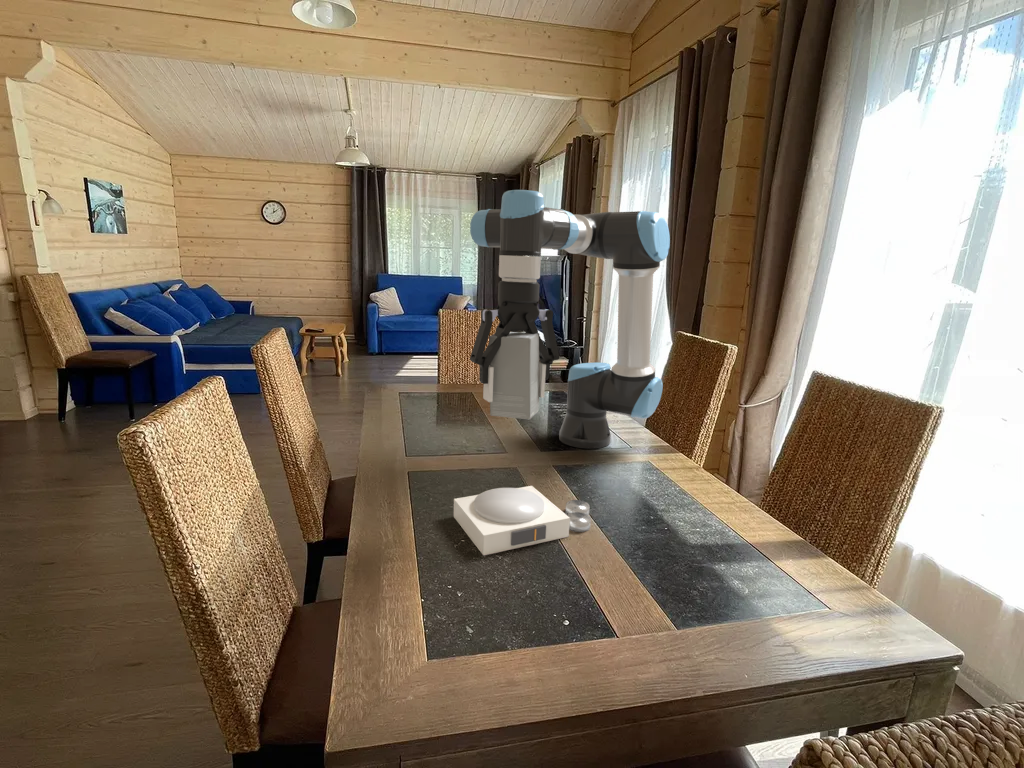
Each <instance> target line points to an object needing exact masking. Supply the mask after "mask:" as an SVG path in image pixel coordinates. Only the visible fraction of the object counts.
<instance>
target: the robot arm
mask: <svg viewBox="0 0 1024 768" xmlns="http://www.w3.org/2000/svg"><path fill="white" fill-rule="evenodd" d="M469 226H470V228H469V233H470V236H471V239H472V241H473V242H474V243H475V244H476V246H479V247H485V248H486V247H487V248H499V255H498V256H499V258H498V259H499V260H498V264H499V265H498V277H499V278H501V280H500V281H499V282H498V284H497V285H498V289H497V306H496V308H495V309H487V308H486V309H485V308H483V309H482V310H481V311H480V319H481V320H480V325H479V328H478V332H477V335H476V337H475V340H474V344H473V348H472V350H471V352H470V353H471V354H470V356H469V360H470V361H471V362H472V363H473V364H476V365H478V366H479V383H481V384H483V389H482V391H483V393H482V395H483V397H482V399H484V400H485V401H486V402H488V403H490V402H493V372H494V367H492V366H490V364H491V362H492V360H493V358H494V357H495V355H496V353H497V351H498V350H499V348H500V346H501V338H502V337H504V336H508V335H509V333H510V332H519V331H520V332H522V333H531V334H536V333H539V329H538V328H537V326H536V323H535V321H536V320H537V319H539V321H540V325H541V331H542V335H543V339H544V342H543V340H542V338H541V336H540V335H539V399H540V398H541V399H542V398H543V399H545V389H546V380H549V377H550V366H551V365H552V364H553V363H554V362H555V361H558V360H559V359H560V353H559V349H558V343H557V338H556V334H555V329H554V324H553V318H554V312H553V310H552V309H546V308H542V309H539V306H538V304H539V300H540V299H539V298H540V283H539V282H538V281H537V280H539V279H540V278H541V260H542V257H541V256H542V250H543V249H544V250H545V249H548V250H557V251H561V250H564V251H565V252H567V253H568V254H572V255H573V254H574V255H580V256H581V255H582V256H587V257H591V258H597V259H607V260H612V269H613V270H614V271H615V272H616V273H618V274H617V275H618V303H617V305H618V306H617V308H618V310H617V348H616V349H617V350H616V351H617V353H616V354H617V355H616V356H617V357H616V359H617V360H616V361H617V362H616V363H615V364H614V365H612V366H611V365H610V363H607V362H584V363H583V362H582V363H577V364H574V365H572V366H571V367H570V368H569V371H568V379H567V398H566V414H565V416H564V418H563V421H562V425H561V426H560V429H559V433H558V435H559V436H558V438H559V441H560V442H561V443H562V444H564V445H567V446H570V447H574V448H580V449H590V450H591V449H593V450H594V449H601V448H604V447H607V446H609V445H610V443H611V438H612V436H611V432H610V428H609V427H610V426H609V423H608V420H607V419H608V418H607V412H609V413H614V414H618V415H623V416H628V417H631V418H640V419H648V418H650V417H651V416H652V415H653V414H654V413H655V411H656V410H657V407H658V406H659V403H660V402H661V397H662V395H663V394H662V393H663V390H664V389H663V387H664V385H663V381H662V378H659V377H658V376H657V377H656V368H655V366H653V365H652V364H651V360H650V359H651V341H652V340H651V337H652V335H651V334H652V314H653V311H652V310H653V292H654V290H653V289H654V274H655V273H656V271H658V270H659V269H660V267H661V265H660V264H661V262H663V261H664V260H665V259H666V258H667V257H668V255H669V250H670V246H671V244H670V243H671V240H670V239H671V237H670V230H669V226H668V222H667V221H666V219H665V217H664V216H663V215H662V214H661V213H660V212H656V211H646V210H640V211H639V210H637V211H613V212H612V211H603V212H595V213H587V214H573V213H572V212H570V211H567V210H564V209H562V208H553V207H547V206H545V201H544V195H543V193H541V192H540V191H538V190H530V189H529V190H527V189H512V190H506V191H504V192H503V194H502V197H501V207H500V209H492V208H487V209H481V210H480V209H479V210H478V211H476V212H475V213H474V214H473V215H472V217H471V220H470V223H469ZM496 318H497V319H498V321H499V323H498V325H497V326H496V327H495V332H494V335H495V336H497V338H496V339H495V340H494V342H493V343H492V344H491V345H490V346H489V343H488V341H489V336H490V333H491V330H492V327H493V322H494V321H495V320H496ZM487 343H488V344H487Z"/></svg>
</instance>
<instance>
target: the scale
mask: <svg viewBox="0 0 1024 768" xmlns="http://www.w3.org/2000/svg"><path fill="white" fill-rule="evenodd" d="M453 518H454V519H455V521H456V522H457V523H458V525H460V526H461V528H462V529H463V531H464V532H465V534H466V535H467V536H468V537H469V540H471V542H472V543H473V544H474V545H475V547H477V549H478V550H479V551H480V554H482V556H488V555H492V554H496V553H501V552H506V551H509V550H514V549H519V548H523V547H528V546H533V545H537V544H541V543H542V544H543V543H546V542H550V541H551V542H552V541H554V540H559V539H563V538H564V539H565V538H568V537H570V530H569V524H570V518H569V517H568V516H567V514H566V512H564V511H563V510H561V509H560V508H559V507H558V506H556V505H555V504H554V503H553V502H552V501H550V499H548V498H547V497H546V496H545V495H544V494H542V492H540V491H539V490H538V489H536V488H535V487H534V486H533V485H527V486H522V487H498V488H492V489H488V490H485V491H482V492H481V493H479V494H475V495H469V496H463V497H456V498H453Z"/></svg>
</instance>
